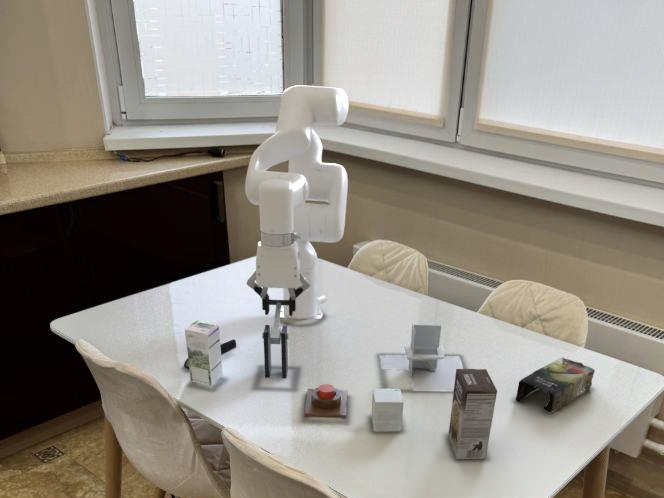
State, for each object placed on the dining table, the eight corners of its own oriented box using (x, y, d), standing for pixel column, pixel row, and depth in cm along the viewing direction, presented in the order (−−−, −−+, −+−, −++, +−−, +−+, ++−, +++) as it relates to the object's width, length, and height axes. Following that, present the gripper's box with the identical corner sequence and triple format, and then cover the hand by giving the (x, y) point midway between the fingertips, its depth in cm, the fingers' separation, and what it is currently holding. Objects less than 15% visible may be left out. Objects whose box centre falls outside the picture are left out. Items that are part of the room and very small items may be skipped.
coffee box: (446, 435, 147) (455, 367, 138) (476, 435, 147) (486, 367, 139) (455, 460, 139) (465, 390, 130) (486, 459, 140) (498, 390, 131)
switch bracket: (260, 367, 170) (258, 318, 163) (297, 368, 170) (296, 320, 163) (254, 388, 161) (252, 338, 154) (293, 390, 161) (292, 339, 154)
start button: (318, 390, 154) (318, 383, 153) (334, 391, 154) (335, 384, 153) (317, 398, 151) (317, 391, 150) (334, 399, 151) (334, 392, 150)
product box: (370, 417, 152) (372, 387, 148) (398, 417, 152) (400, 387, 148) (373, 432, 147) (374, 402, 143) (401, 432, 147) (404, 402, 143)
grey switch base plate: (472, 391, 163) (478, 347, 157) (384, 390, 162) (387, 345, 156) (459, 356, 179) (464, 314, 173) (379, 354, 178) (382, 312, 172)
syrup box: (224, 379, 164) (219, 322, 156) (211, 390, 159) (206, 333, 151) (203, 375, 165) (197, 318, 157) (190, 386, 160) (183, 328, 153)
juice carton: (557, 373, 173) (562, 351, 169) (593, 388, 167) (599, 365, 164) (513, 401, 160) (517, 378, 157) (550, 418, 155) (555, 394, 151)
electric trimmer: (240, 352, 177) (239, 340, 175) (193, 372, 166) (192, 360, 164) (230, 348, 179) (229, 336, 177) (183, 367, 168) (181, 355, 166)
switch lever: (269, 303, 166) (268, 296, 164) (289, 303, 166) (289, 297, 164) (264, 343, 160) (263, 337, 158) (286, 344, 160) (285, 338, 158)
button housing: (307, 396, 159) (307, 380, 156) (346, 397, 159) (347, 382, 157) (304, 421, 149) (304, 405, 147) (345, 422, 149) (346, 407, 147)
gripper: (316, 234, 159) (315, 308, 169) (241, 231, 159) (245, 305, 169) (314, 244, 153) (313, 320, 163) (236, 241, 153) (241, 318, 162)
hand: (279, 312), depth 166 cm, fingers closed on switch lever, 5 cm apart
